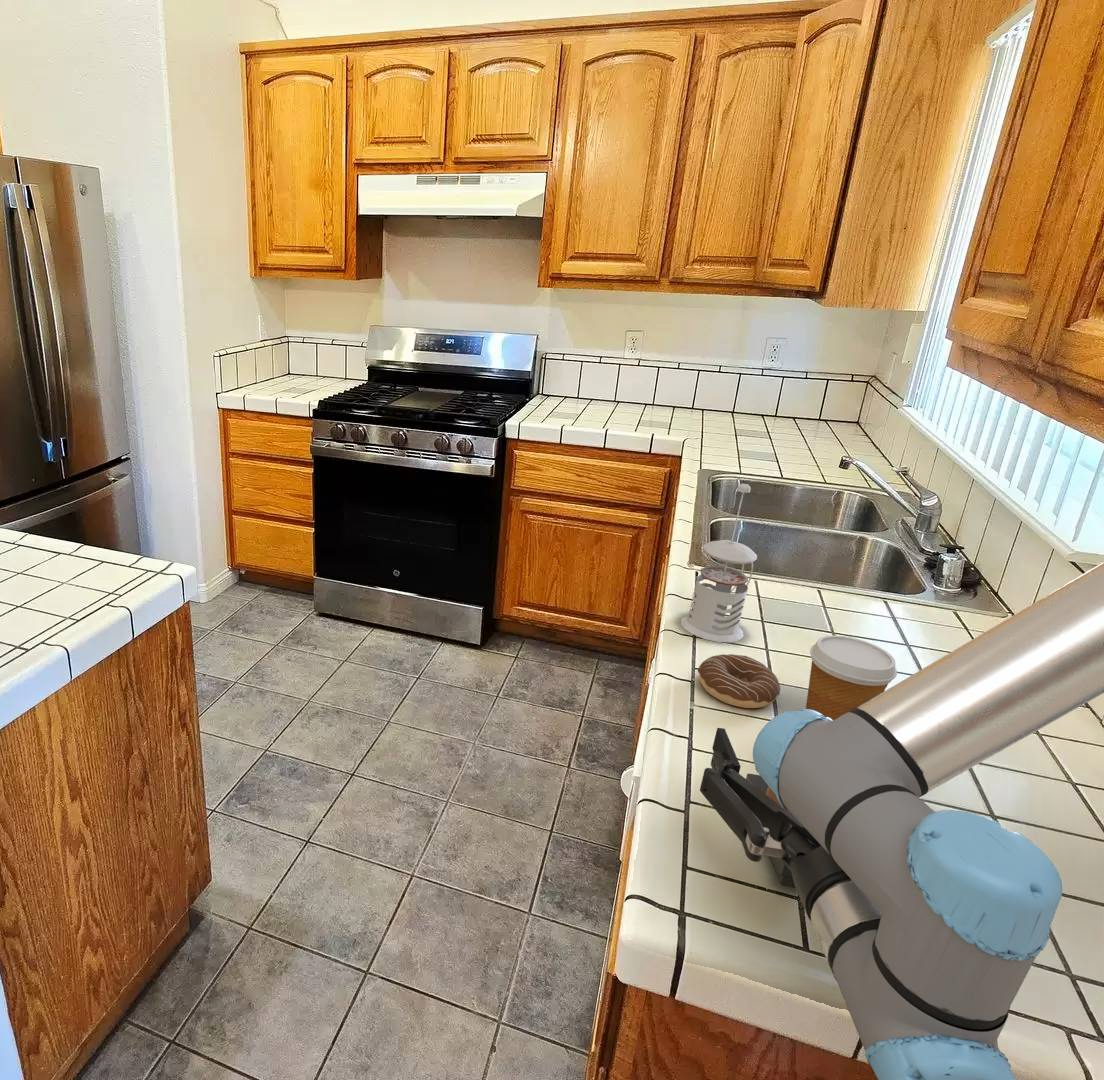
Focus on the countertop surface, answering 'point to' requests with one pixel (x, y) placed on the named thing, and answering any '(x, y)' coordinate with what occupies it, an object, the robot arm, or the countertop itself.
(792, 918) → the countertop surface
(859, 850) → the robot arm
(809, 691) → the disposable coffee cup
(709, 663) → the donut
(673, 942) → the countertop surface
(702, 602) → the french press
